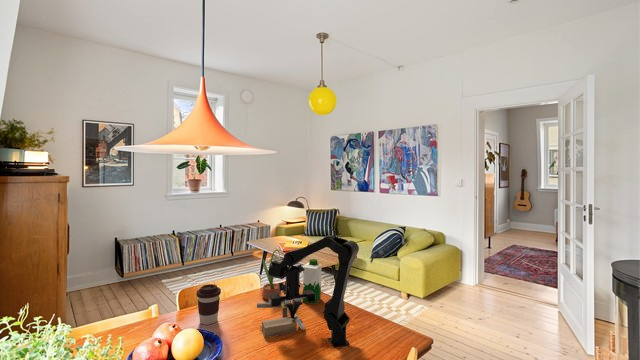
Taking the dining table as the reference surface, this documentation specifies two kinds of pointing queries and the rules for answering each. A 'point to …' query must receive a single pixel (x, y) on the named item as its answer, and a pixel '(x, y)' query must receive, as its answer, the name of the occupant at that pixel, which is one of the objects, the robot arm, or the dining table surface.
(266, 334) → the grey lever base
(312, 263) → the milk carton
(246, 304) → the dining table surface
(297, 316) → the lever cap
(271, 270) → the robot arm
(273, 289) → the potted flower
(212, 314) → the coffee cup
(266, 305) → the lever
